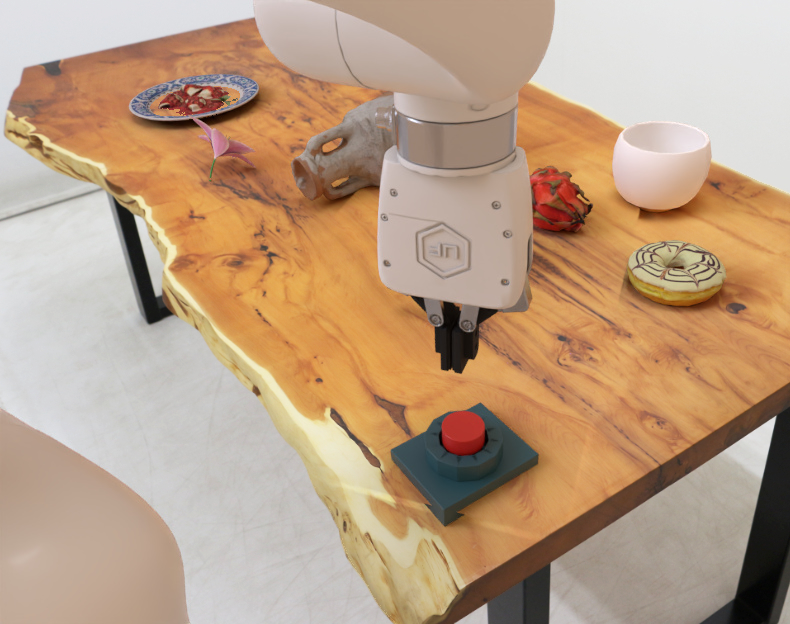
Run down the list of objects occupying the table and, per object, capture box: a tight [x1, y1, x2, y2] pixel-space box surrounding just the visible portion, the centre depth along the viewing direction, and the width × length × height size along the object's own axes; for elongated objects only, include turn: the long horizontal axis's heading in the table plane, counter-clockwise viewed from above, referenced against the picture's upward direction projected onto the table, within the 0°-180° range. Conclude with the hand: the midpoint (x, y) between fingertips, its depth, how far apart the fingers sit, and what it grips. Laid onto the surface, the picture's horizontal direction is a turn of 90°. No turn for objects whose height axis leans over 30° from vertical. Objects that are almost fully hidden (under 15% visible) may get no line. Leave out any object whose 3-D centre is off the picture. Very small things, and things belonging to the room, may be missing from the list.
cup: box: [611, 120, 713, 213], centre depth 96 cm, size 12×12×10 cm
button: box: [442, 410, 485, 456], centre depth 60 cm, size 4×4×2 cm
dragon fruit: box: [529, 165, 594, 233], centre depth 93 cm, size 8×8×12 cm
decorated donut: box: [626, 239, 728, 307], centre depth 82 cm, size 10×11×4 cm
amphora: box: [290, 91, 394, 201], centre depth 107 cm, size 14×16×30 cm
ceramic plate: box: [128, 73, 260, 122], centre depth 143 cm, size 26×26×3 cm
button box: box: [390, 402, 540, 527], centre depth 62 cm, size 10×8×4 cm
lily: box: [188, 115, 257, 182], centre depth 115 cm, size 12×12×10 cm
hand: (457, 360), depth 55 cm, fingers closed
